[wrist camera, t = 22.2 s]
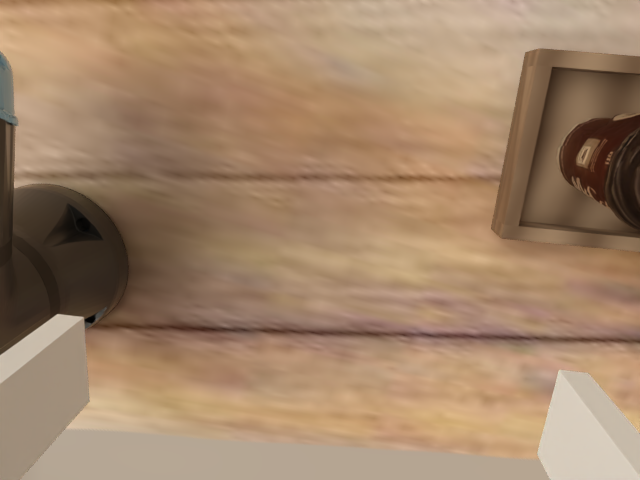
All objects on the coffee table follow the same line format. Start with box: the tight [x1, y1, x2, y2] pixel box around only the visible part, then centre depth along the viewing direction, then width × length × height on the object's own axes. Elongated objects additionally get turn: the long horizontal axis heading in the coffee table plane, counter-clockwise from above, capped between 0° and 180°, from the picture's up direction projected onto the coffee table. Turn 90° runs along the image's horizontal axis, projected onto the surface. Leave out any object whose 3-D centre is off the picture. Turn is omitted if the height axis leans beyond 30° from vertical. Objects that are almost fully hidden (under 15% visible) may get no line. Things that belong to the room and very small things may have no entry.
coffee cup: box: [556, 113, 640, 232], centre depth 34 cm, size 9×8×13 cm
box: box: [491, 49, 640, 252], centre depth 40 cm, size 14×15×3 cm
